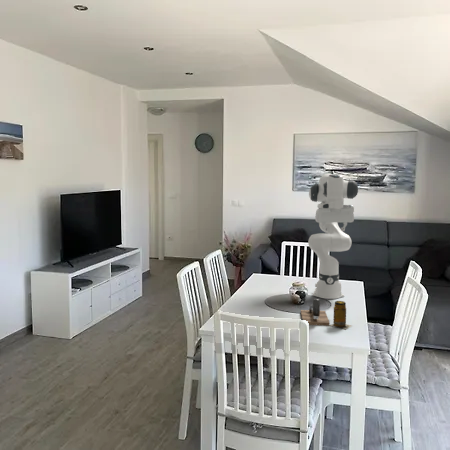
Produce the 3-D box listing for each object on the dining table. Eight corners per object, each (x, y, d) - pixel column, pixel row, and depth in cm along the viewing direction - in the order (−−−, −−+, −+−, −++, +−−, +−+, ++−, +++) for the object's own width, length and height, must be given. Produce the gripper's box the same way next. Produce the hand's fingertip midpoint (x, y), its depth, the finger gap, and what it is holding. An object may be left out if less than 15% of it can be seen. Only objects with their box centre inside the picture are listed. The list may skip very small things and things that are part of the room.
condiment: (336, 322, 232) (337, 299, 231) (352, 326, 227) (353, 302, 225) (329, 325, 227) (330, 302, 225) (345, 329, 221) (346, 305, 220)
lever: (308, 309, 247) (309, 290, 245) (317, 310, 246) (317, 291, 245) (311, 321, 228) (312, 300, 227) (320, 321, 227) (321, 300, 226)
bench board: (300, 312, 248) (300, 310, 248) (325, 313, 247) (325, 310, 247) (303, 324, 228) (303, 321, 228) (329, 325, 227) (329, 322, 227)
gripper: (351, 204, 246) (351, 230, 247) (314, 204, 244) (314, 230, 246) (356, 205, 240) (355, 231, 241) (317, 205, 238) (317, 231, 239)
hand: (334, 230), depth 243 cm, fingers open, 8 cm apart
